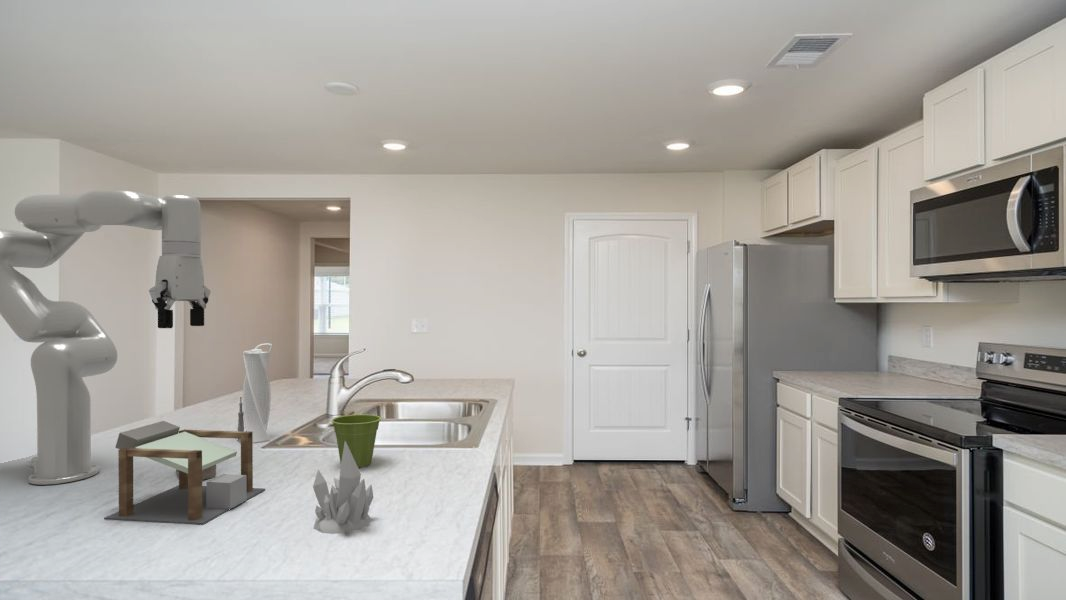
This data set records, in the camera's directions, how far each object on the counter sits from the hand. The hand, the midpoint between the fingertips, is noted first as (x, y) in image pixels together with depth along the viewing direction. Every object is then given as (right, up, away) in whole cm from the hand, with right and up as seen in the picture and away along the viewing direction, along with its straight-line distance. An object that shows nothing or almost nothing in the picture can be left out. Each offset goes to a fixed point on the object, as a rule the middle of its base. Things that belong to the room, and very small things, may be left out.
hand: (181, 327), depth 131 cm
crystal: (+44, -35, -25) cm, 61 cm away
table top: (+11, -34, -16) cm, 39 cm away
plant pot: (+36, -34, +11) cm, 51 cm away
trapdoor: (+8, -25, -15) cm, 30 cm away
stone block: (+16, -32, -16) cm, 39 cm away
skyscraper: (0, -35, +35) cm, 50 cm away
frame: (+11, -34, -16) cm, 39 cm away
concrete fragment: (+1, -35, +3) cm, 35 cm away
